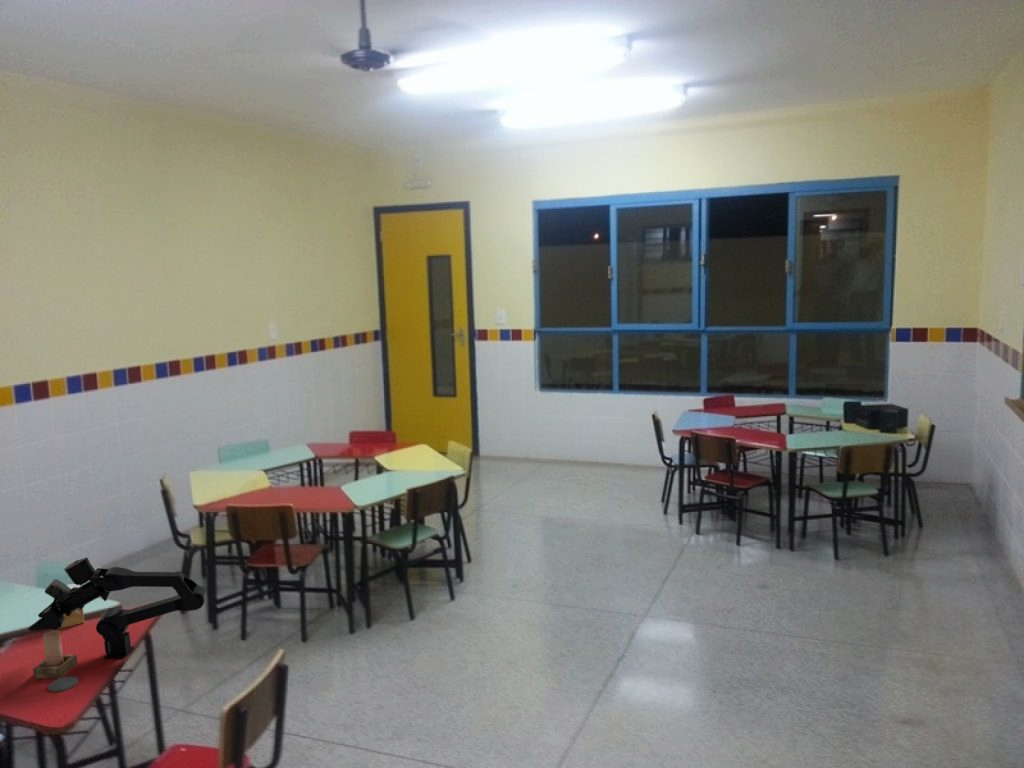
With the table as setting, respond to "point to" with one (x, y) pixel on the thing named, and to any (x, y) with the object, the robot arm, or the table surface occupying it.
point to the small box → (73, 614)
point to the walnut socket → (55, 668)
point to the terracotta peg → (53, 648)
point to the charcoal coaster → (63, 684)
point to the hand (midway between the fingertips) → (34, 622)
